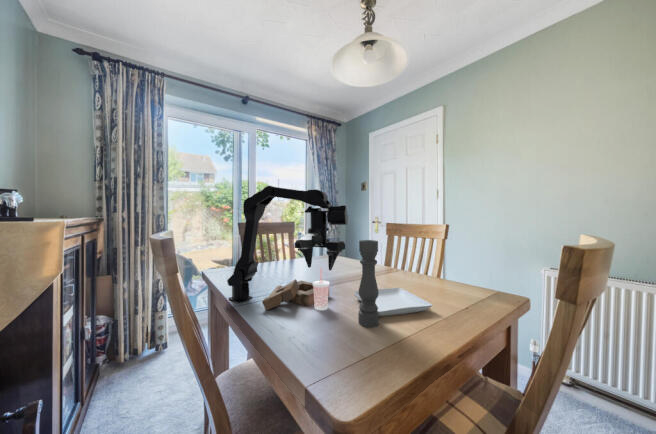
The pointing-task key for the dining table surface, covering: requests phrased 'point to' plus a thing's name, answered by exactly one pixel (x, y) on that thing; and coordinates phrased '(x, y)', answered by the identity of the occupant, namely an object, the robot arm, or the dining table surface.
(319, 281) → the beverage cup
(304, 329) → the dining table surface
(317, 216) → the robot arm
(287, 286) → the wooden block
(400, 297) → the salad plate
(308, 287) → the holder block
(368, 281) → the candle holder
